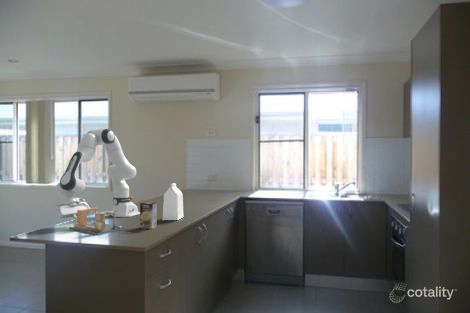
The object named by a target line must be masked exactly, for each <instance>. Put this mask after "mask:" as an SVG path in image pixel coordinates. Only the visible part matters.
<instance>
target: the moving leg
mask: <svg viewBox="0 0 470 313" xmlns="http://www.w3.org/2000/svg"><path fill="white" fill-rule="evenodd" d="M89 211H90V212H94V213H98V211H99V207H90V209H81V210H77V216H76V217H77V221H76V224H77V225H80V226H82V225H87V224H88V214H87V212H89Z"/></svg>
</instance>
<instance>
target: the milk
mask: <svg viewBox="0 0 470 313" xmlns="http://www.w3.org/2000/svg"><path fill="white" fill-rule="evenodd" d="M183 197H184V194H183V192H182V191H181V190H180V189H179V188H178V187H177V183H176V182H175V183H174V182H173V183H171V184H170V187H169V188H168V189H167V191H165V192H164V194H163V205H162V206H163V207H162V221H164V220H179V219H181V218H183V217H185V216H184V198H183ZM183 219H184V218H183ZM181 220H182V219H181ZM179 221H180V220H179Z"/></svg>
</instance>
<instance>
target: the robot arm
mask: <svg viewBox="0 0 470 313" xmlns="http://www.w3.org/2000/svg"><path fill="white" fill-rule="evenodd" d="M97 146H104V149H105V152H106V155H107V157H108V160H109V161H110V162H111V163H112V165H110V166H108V168H107V170H106V171H107V173H106V174H107V176H108V177H109V178H110V180H111V182H112V184H113V199H112V200H113V201H112V202H113V207H112V211H116V213H115V218H124V217H125V218H127V217H128V218H129V217H133V216H137V215H140V211H139V208H138V206H137V205H136V204H135V203H134V202H132V200H134V197H133V196H130V187H129V185H128V183H127V182H126V180H131V179H134V178H136V176H137V169H136V167H135V166H134V165H133V164H131V163H130V161H128V159H127V158H126V156H125V154H124V151H123V148H122V144H121V143H120V141H119V139H118V136H116V135H115V132H114V130H112V129H111V128H110V129H109V128H100V129H95V130H94V129H93V130H92V129H91V130H89V131H88V132H86V133H85V134H83V135H82V137H81V139H80V141H79V144H78V148H77V149H76V152H74V153H73V154H72V155H71V157H70V160H69V162H68V163H67V167H66V169H65V171H64V173H63V175H62V176H61V178H60V179H59V182H58V183H57V184H56V186H55V193H56V196H57V198H58V199H59V200H60V203H61V204H57V205H56V206H55V209H56V211H57V215H58V217H59V218H60V219H66V218H67V219H68V218H72V219H74V221H75V222H77V210H81V209H90V208H91V207H90V205H89V204H88V203H87V202H86V199H85V198H80V197H77V196H79V195H81V194H82V193H83V192H85V190H86V189H87V188H86V187H87V185H86V184H87V183H86V182H85V181H84V180H82V179H81V178H78V177H77V176H76V173H77V171H78V169H79V166H80V164H81V163H84V162H85V163H87V162H90V161H92V160H93V158H94V157H95V153H96V150H97ZM90 213H91V211H89V212H87V215H90ZM111 217H113V214H111Z"/></svg>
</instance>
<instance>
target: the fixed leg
mask: <svg viewBox="0 0 470 313" xmlns="http://www.w3.org/2000/svg"><path fill="white" fill-rule="evenodd" d="M94 213H95V212H94ZM115 213H116V211H113V210H111V211H110V210H109V211H104V212H97V213H95V214H94V221H95V227H92V226H87V225H82V226H80V225H77V223H75V224H73V227H77V228H82V229H87V230H92V231H97V232H104V229H105V224H106V216H108V215H112V214H113V216H112V219H113V220H112V225H113V228H115V226H116V217H115Z"/></svg>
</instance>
